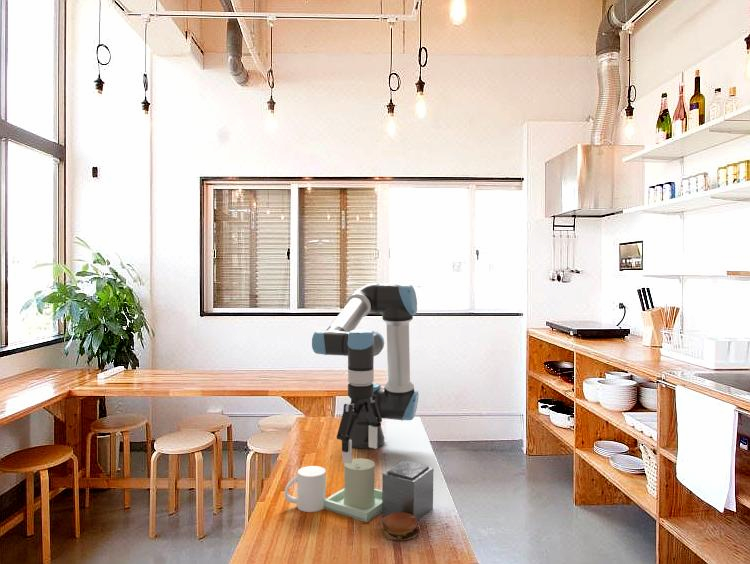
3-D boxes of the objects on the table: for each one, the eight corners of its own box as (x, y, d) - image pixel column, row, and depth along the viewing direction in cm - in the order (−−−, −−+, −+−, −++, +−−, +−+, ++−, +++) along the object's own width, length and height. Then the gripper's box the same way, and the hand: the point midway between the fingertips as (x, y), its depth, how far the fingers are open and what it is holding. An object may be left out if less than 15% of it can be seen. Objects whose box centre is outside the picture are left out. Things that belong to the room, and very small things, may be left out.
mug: (326, 475, 148) (283, 477, 146) (326, 511, 148) (283, 513, 147) (325, 465, 156) (285, 466, 155) (325, 499, 156) (284, 500, 155)
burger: (374, 530, 138) (375, 513, 138) (402, 521, 143) (403, 505, 143) (396, 547, 130) (397, 529, 130) (425, 537, 135) (426, 519, 135)
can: (339, 508, 149) (340, 466, 149) (348, 494, 158) (348, 455, 158) (371, 511, 147) (371, 469, 147) (377, 497, 156) (378, 457, 156)
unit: (403, 499, 156) (404, 458, 156) (433, 508, 151) (434, 465, 151) (382, 516, 146) (382, 471, 146) (413, 525, 141) (413, 479, 140)
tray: (353, 490, 163) (353, 482, 163) (394, 502, 155) (394, 493, 155) (323, 508, 150) (323, 500, 150) (366, 522, 142) (366, 513, 142)
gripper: (372, 373, 164) (372, 439, 165) (324, 390, 143) (324, 465, 144) (393, 376, 160) (392, 444, 161) (346, 394, 139) (346, 471, 140)
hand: (360, 454), depth 152 cm, fingers open, 13 cm apart
